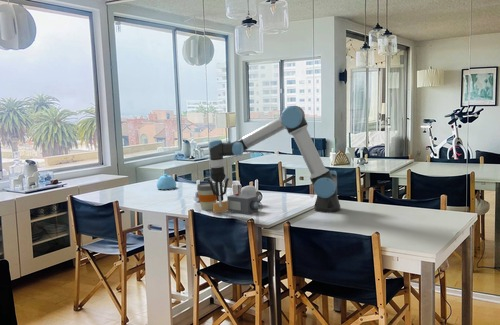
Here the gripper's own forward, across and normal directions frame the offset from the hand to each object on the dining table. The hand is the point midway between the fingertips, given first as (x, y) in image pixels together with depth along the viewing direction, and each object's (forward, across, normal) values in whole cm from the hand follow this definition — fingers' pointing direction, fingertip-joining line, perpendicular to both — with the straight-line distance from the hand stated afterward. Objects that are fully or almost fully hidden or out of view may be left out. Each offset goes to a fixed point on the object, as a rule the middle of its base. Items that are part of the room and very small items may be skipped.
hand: (220, 206), depth 276 cm
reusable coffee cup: (+4, +11, -15) cm, 19 cm away
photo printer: (+5, -13, -22) cm, 26 cm away
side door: (+4, 0, -2) cm, 4 cm away
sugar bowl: (+3, +60, -86) cm, 105 cm away
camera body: (+5, -13, -6) cm, 15 cm away
